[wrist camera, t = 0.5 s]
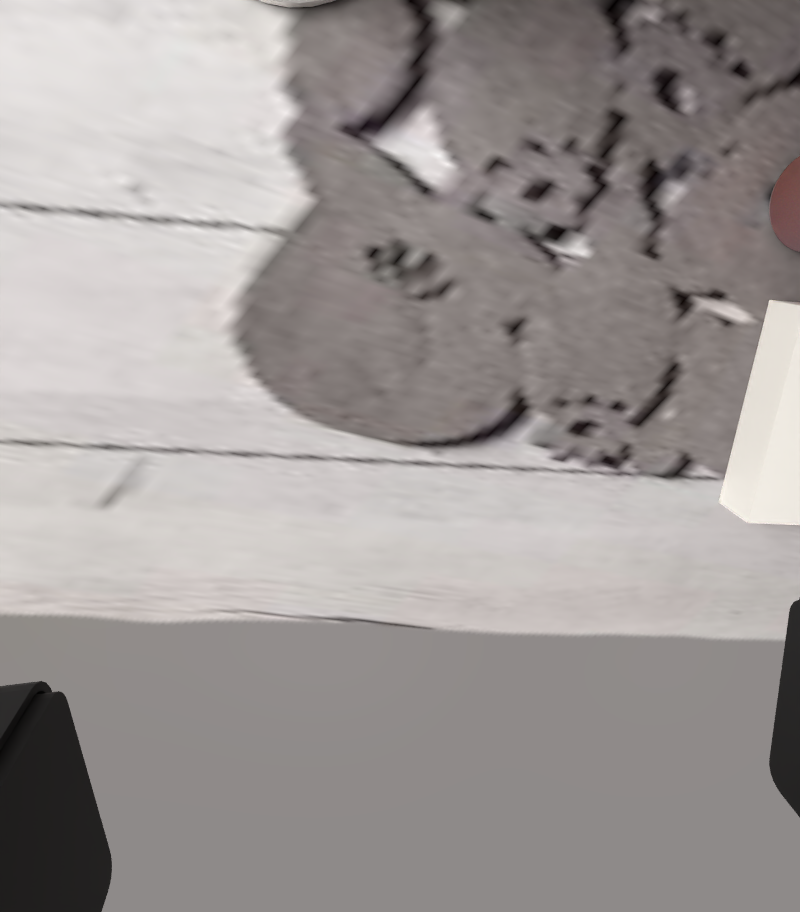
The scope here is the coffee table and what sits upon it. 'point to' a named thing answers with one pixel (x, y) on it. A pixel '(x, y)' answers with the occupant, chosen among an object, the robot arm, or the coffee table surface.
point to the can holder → (769, 427)
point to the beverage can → (787, 206)
